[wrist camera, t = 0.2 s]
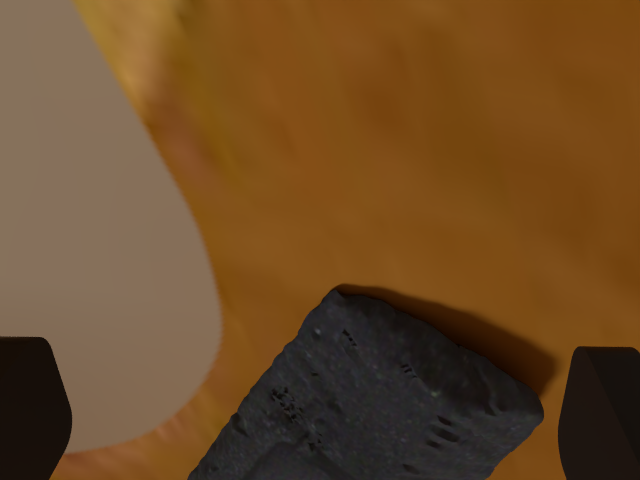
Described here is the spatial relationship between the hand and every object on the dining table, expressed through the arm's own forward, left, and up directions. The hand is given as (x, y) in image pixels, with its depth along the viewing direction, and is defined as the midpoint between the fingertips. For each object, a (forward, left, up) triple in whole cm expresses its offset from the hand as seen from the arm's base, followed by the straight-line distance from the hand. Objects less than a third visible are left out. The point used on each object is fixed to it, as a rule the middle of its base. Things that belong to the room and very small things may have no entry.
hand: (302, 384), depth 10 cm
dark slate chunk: (+23, 0, -18) cm, 29 cm away
